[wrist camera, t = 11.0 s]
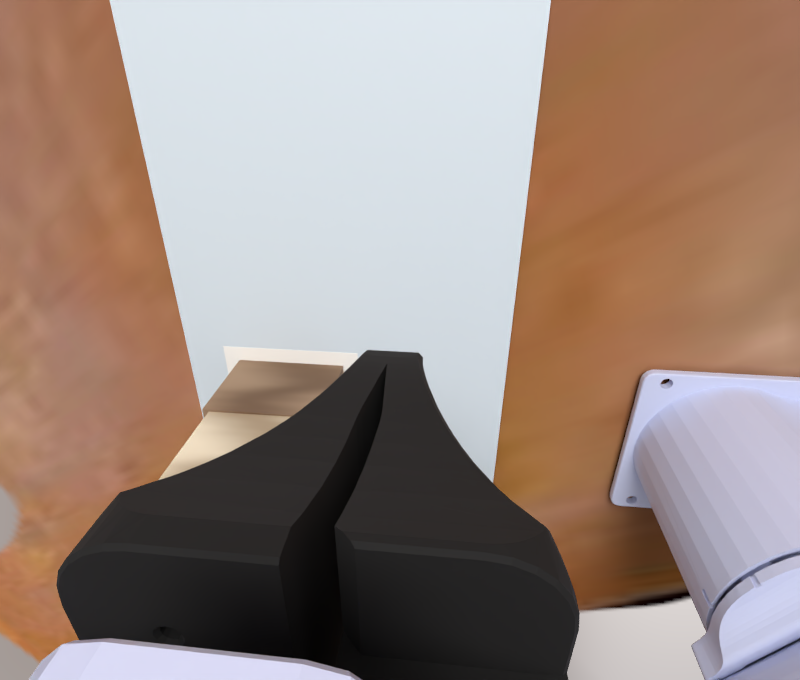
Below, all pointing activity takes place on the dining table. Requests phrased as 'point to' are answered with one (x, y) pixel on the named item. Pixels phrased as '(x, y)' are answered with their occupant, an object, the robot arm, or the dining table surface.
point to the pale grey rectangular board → (343, 182)
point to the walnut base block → (271, 387)
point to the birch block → (220, 438)
